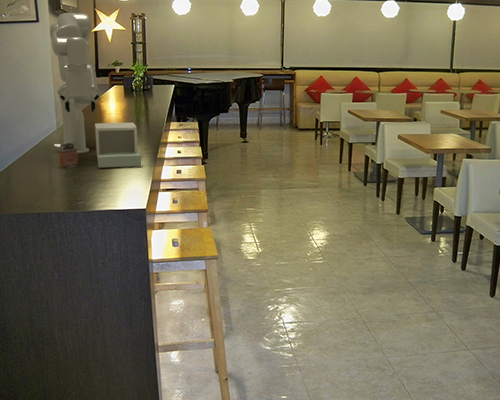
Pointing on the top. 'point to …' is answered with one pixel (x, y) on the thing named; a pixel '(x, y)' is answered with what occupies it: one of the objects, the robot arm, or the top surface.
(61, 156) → the lighter
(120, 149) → the cabinet
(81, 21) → the robot arm
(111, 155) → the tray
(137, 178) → the top surface
